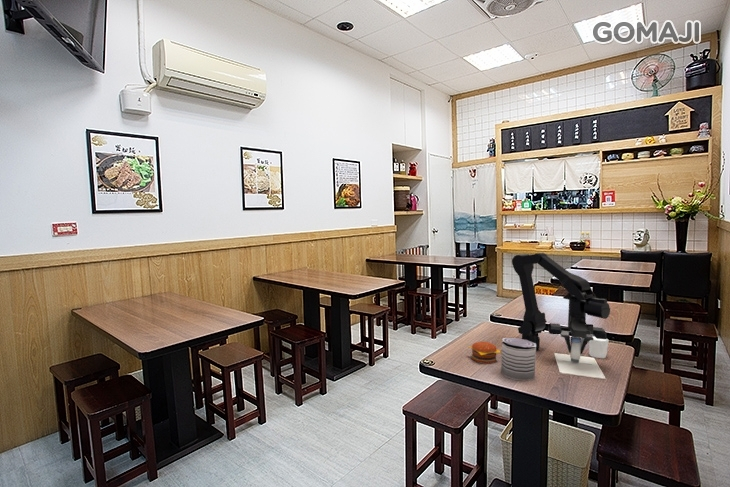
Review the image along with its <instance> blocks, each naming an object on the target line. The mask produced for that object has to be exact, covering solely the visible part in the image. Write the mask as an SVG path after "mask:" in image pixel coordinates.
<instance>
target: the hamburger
mask: <svg viewBox="0 0 730 487" xmlns="http://www.w3.org/2000/svg"><path fill="white" fill-rule="evenodd" d="M468 349H471V350H472V351H471V353H472V354H471V359H472V360H473V361H475V362H477V363H481V364H493V363H496V361H497V354H502V351H500V350H499V349H497V346H496V345H495V344H493V343H491V342H488V341H485V340H483V341H480V340H479V341H477V342H474V343H472V345H471V346H468Z"/></svg>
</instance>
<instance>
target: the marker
mask: <svg viewBox="0 0 730 487" xmlns="http://www.w3.org/2000/svg"><path fill="white" fill-rule="evenodd" d="M581 338H582V337H573V336H572V335H571V336H570V347H571V353H569V355H570V358H571V361H572V362H579V359H580V356H581V354H580V352H581Z"/></svg>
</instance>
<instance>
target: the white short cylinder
mask: <svg viewBox="0 0 730 487" xmlns="http://www.w3.org/2000/svg"><path fill="white" fill-rule="evenodd" d="M609 341H610V340H609V339H608V338H606V339H597V338H596V337H595V336H594V335H593V340H590V341H589V342H588V350H589V351H588V352H589V356H591V357H592V358H597V359H606V358H607V354H608V352H607V351H608V347H609Z"/></svg>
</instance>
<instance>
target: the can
mask: <svg viewBox="0 0 730 487" xmlns="http://www.w3.org/2000/svg"><path fill="white" fill-rule="evenodd" d="M536 354H537V351H536V343H533V342H531V341H528V340H524V339H522V338H517V337H503V338H502V339H501V364H500V366H501V367H500V368H501V369H500V373H501V374H502V375H503V376H505V378H509V379H512V380H515V381H522V382H523V381H524V382H528V381H532V380H535V376H536Z"/></svg>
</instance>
